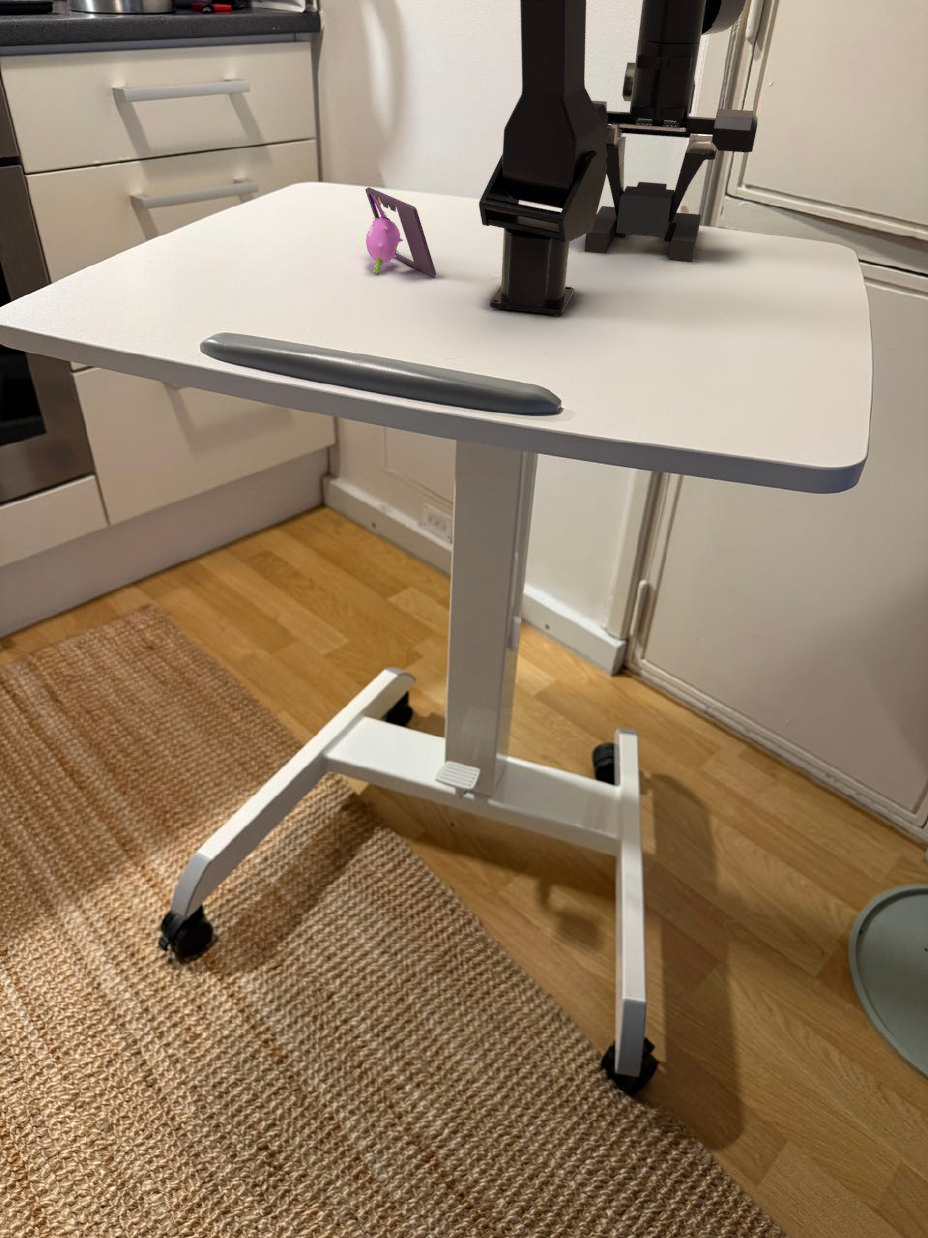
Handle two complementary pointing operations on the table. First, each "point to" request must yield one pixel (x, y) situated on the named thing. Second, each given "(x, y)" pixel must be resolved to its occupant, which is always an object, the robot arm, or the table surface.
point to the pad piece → (645, 210)
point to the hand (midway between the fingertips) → (644, 218)
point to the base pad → (678, 233)
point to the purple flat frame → (396, 234)
